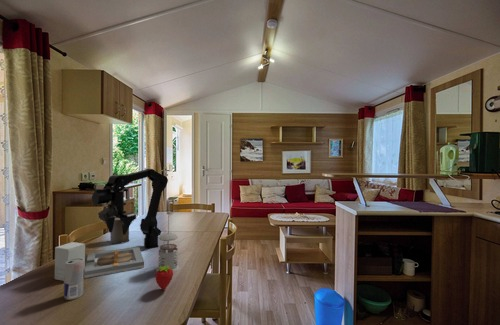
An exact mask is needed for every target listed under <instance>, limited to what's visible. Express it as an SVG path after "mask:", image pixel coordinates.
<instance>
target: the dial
mask: <svg viewBox="0 0 500 325" xmlns="http://www.w3.org/2000/svg"><path fill="white" fill-rule="evenodd" d="M115 250H116V251H114V253H111V254H107V255H104V256H102V257H100V258H98V260H97V264H98V265H99V266H105V265H111V264H114V263H123V262H129V261H131V260H132V254H130V253H127V252H117V250H118V249H115Z"/></svg>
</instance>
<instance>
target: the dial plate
mask: <svg viewBox="0 0 500 325" xmlns="http://www.w3.org/2000/svg"><path fill="white" fill-rule="evenodd" d="M116 250H117V252H127V253H130V254H132V260H131V261H129V262H123V263H114V264H111V265H105V266H99V265H98V264H97V260H98V258H100V257H102V256H104V255H107V254H111V253H114V251H116ZM144 267H145V260H144V257H143V255H142V252H141V249H140V247H139V246H134V247H127V248H119V249H114V250H113V249H112V250H106V251H105V250H104V251H98V252H97V251H96V252H91V253H90V252H89V253H88V254H87V257H86V260H85V271H84V275H83V279H88V278H92V277H93V278H94V277H98V276H99V277H100V276H103V275H104V276H105V275H111V274H115V273H116V274H117V273H121V272H122V273H123V272H126V271H131V270H132V271H133V270H137V269H143V268H144Z"/></svg>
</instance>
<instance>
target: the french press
mask: <svg viewBox="0 0 500 325" xmlns="http://www.w3.org/2000/svg"><path fill="white" fill-rule="evenodd" d="M166 215H168V219H167V220H168V222H167V223H168V224H167V228H168V230H167V231H168V232H167V233H163V234H160V235H159V236H158V240H159V241H163V242H167V243H163V244H162V245H159V250H158V267H157V268H156V269H155V271H156V273H157V272H158V270H160V269H158V268H160V267H163V266H165V265H166V266H170V267H169V268H171V269H172V270H173V273H175V272H177V271H179V269H180V266H179V265H178V248H177V247H178V246H177V244H176V243H170V242H169V241H171V242H172V241H174V240H177V239H178V238H179V236H178V235H177V234H176V233H171V232H170V215H172V211H170V210H169V211H166Z"/></svg>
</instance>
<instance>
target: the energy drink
mask: <svg viewBox="0 0 500 325" xmlns="http://www.w3.org/2000/svg"><path fill="white" fill-rule="evenodd" d="M83 269H84V262H83V259H80V258H77V259H71V260H68V261H66V263H65V270H64V281H63V284H64V285H63V298H64V300H67V301H72V300H76V299H78V298H80V297H81V296H83V294H84V275H83Z"/></svg>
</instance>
